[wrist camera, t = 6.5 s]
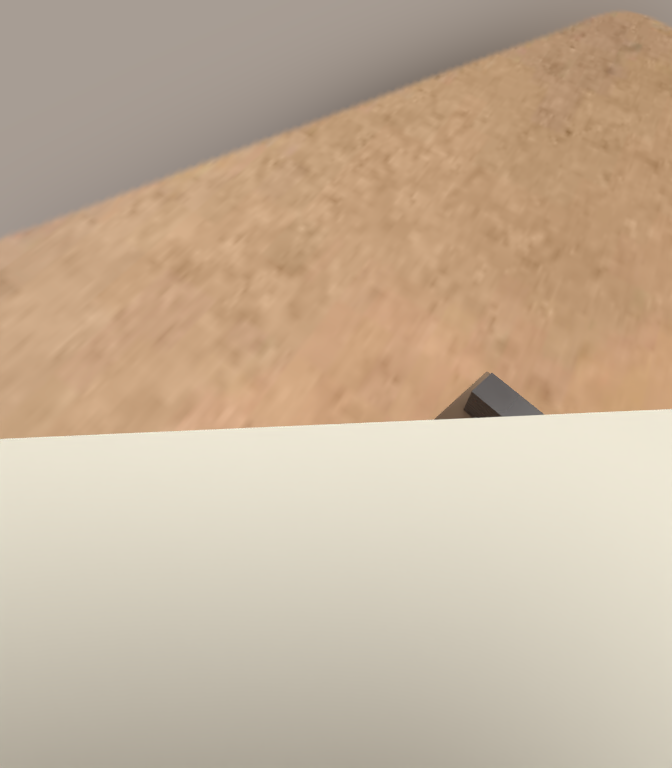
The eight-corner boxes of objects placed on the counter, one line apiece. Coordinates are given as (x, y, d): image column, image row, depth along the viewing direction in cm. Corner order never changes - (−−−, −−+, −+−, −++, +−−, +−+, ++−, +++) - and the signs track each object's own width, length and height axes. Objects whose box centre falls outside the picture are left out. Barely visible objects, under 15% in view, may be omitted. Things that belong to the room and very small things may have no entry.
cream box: (455, 845, 12) (1148, 1447, 2) (166, 869, 12) (-783, 1716, 2) (427, 629, 14) (690, 376, 4) (182, 644, 14) (-195, 414, 4)
